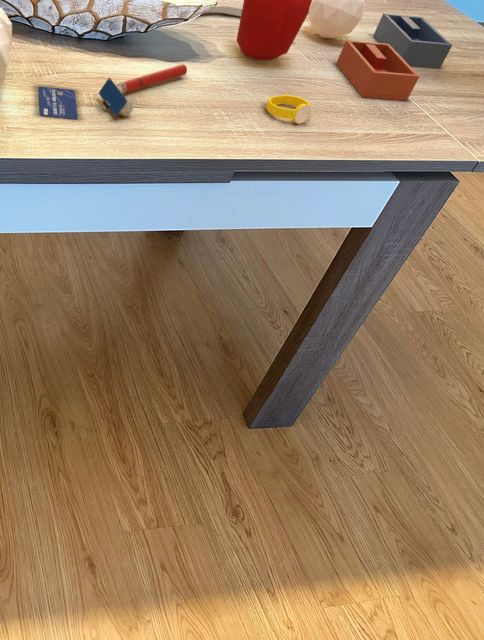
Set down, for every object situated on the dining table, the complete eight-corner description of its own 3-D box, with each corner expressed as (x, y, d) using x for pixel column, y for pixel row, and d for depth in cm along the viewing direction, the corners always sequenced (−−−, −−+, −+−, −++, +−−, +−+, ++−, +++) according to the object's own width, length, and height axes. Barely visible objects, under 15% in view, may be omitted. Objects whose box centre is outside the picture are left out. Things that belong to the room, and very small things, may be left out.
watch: (292, 87, 112) (321, 101, 108) (287, 105, 114) (316, 120, 110) (262, 94, 110) (291, 108, 106) (257, 112, 112) (286, 127, 108)
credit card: (77, 119, 103) (77, 119, 103) (39, 115, 102) (39, 115, 102) (74, 90, 108) (74, 90, 108) (38, 86, 108) (38, 86, 108)
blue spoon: (425, 58, 131) (435, 38, 128) (406, 56, 130) (416, 36, 128) (404, 36, 137) (413, 17, 134) (386, 34, 136) (395, 15, 134)
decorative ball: (278, 37, 137) (312, -31, 132) (328, 58, 139) (363, -8, 133) (293, 42, 129) (330, -30, 124) (346, 65, 131) (384, -6, 125)
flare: (115, 98, 108) (107, 93, 109) (185, 77, 115) (178, 72, 116) (117, 87, 107) (109, 82, 108) (188, 66, 114) (180, 62, 115)
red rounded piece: (252, 72, 120) (283, -15, 110) (215, 44, 126) (241, -41, 116) (301, 66, 124) (335, -19, 114) (263, 39, 130) (292, -44, 120)
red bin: (407, 100, 119) (419, 76, 116) (362, 97, 118) (373, 72, 115) (377, 67, 127) (389, 43, 124) (335, 63, 126) (346, 39, 123)
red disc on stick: (391, 90, 120) (401, 69, 117) (370, 88, 119) (380, 67, 117) (370, 65, 126) (380, 45, 123) (350, 63, 125) (359, 43, 123)
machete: (164, 19, 128) (154, -2, 130) (159, 29, 130) (149, 8, 131) (282, 20, 137) (271, 0, 139) (275, 29, 139) (264, 10, 141)
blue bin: (440, 68, 130) (452, 45, 127) (399, 64, 129) (411, 41, 126) (411, 39, 138) (422, 16, 135) (372, 35, 137) (383, 13, 134)
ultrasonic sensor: (122, 125, 105) (137, 105, 103) (110, 120, 103) (125, 99, 102) (105, 101, 108) (118, 81, 106) (93, 97, 107) (107, 76, 105)
